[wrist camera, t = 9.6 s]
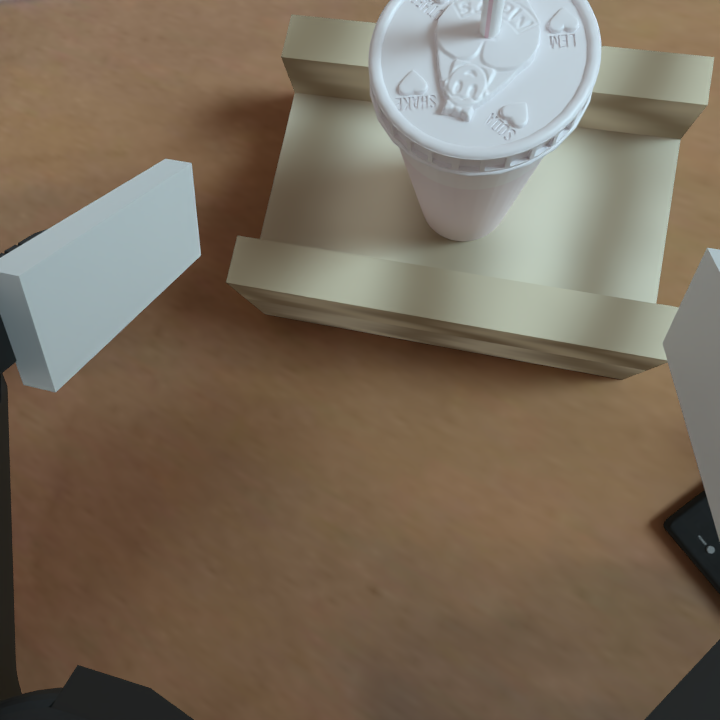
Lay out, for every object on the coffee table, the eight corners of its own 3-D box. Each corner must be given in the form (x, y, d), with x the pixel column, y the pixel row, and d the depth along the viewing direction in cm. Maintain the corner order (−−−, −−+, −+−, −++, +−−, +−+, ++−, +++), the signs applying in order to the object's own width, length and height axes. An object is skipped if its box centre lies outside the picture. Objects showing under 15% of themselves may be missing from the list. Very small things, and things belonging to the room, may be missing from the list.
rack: (659, 133, 28) (714, 57, 22) (622, 379, 26) (670, 361, 21) (316, 92, 30) (291, 14, 25) (264, 314, 29) (226, 282, 24)
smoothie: (560, 156, 25) (713, -199, 11) (510, 292, 25) (607, 88, 11) (420, 115, 26) (407, -254, 13) (368, 244, 26) (294, 4, 12)
